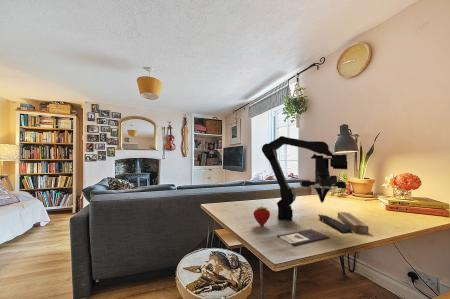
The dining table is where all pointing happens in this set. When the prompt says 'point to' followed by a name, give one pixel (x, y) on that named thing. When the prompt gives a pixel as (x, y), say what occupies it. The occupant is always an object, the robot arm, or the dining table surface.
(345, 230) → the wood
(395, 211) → the dining table surface
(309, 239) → the chocolate bar
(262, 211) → the strawberry
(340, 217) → the laid board
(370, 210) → the dining table surface
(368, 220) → the dining table surface
